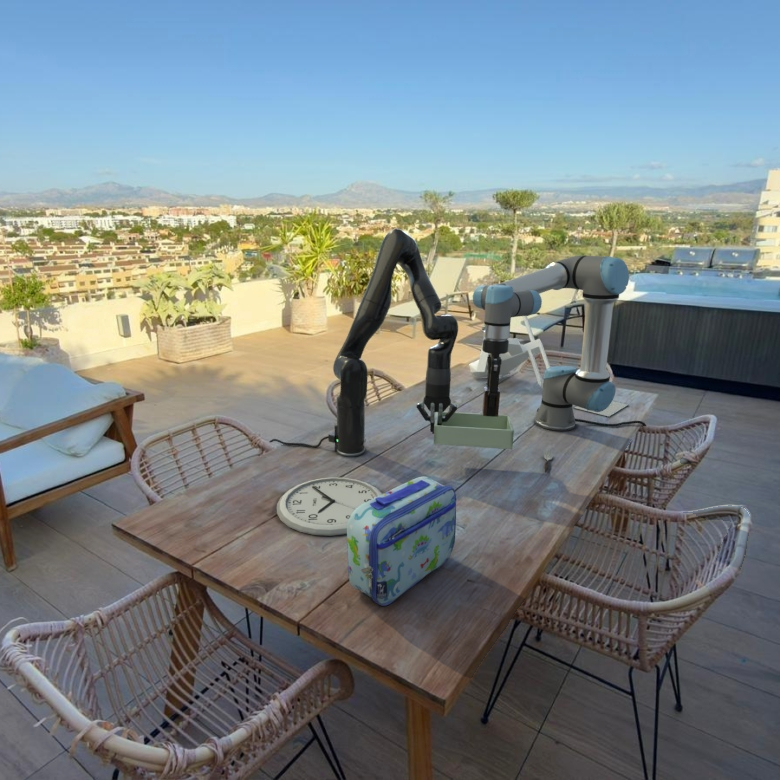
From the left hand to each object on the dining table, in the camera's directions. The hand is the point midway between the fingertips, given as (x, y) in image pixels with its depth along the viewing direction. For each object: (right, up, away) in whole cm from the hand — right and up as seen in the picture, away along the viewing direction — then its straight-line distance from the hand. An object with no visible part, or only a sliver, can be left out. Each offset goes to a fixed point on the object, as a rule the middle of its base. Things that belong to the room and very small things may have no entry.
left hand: (435, 433), depth 165 cm
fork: (+37, -11, +5) cm, 39 cm away
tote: (+11, -2, -1) cm, 11 cm away
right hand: (+16, +7, -4) cm, 18 cm away
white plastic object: (+43, +16, +91) cm, 102 cm away
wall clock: (-30, -18, -22) cm, 42 cm away
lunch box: (-12, -27, -51) cm, 59 cm away
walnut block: (+17, +6, -4) cm, 18 cm away
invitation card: (+77, +6, +61) cm, 99 cm away
